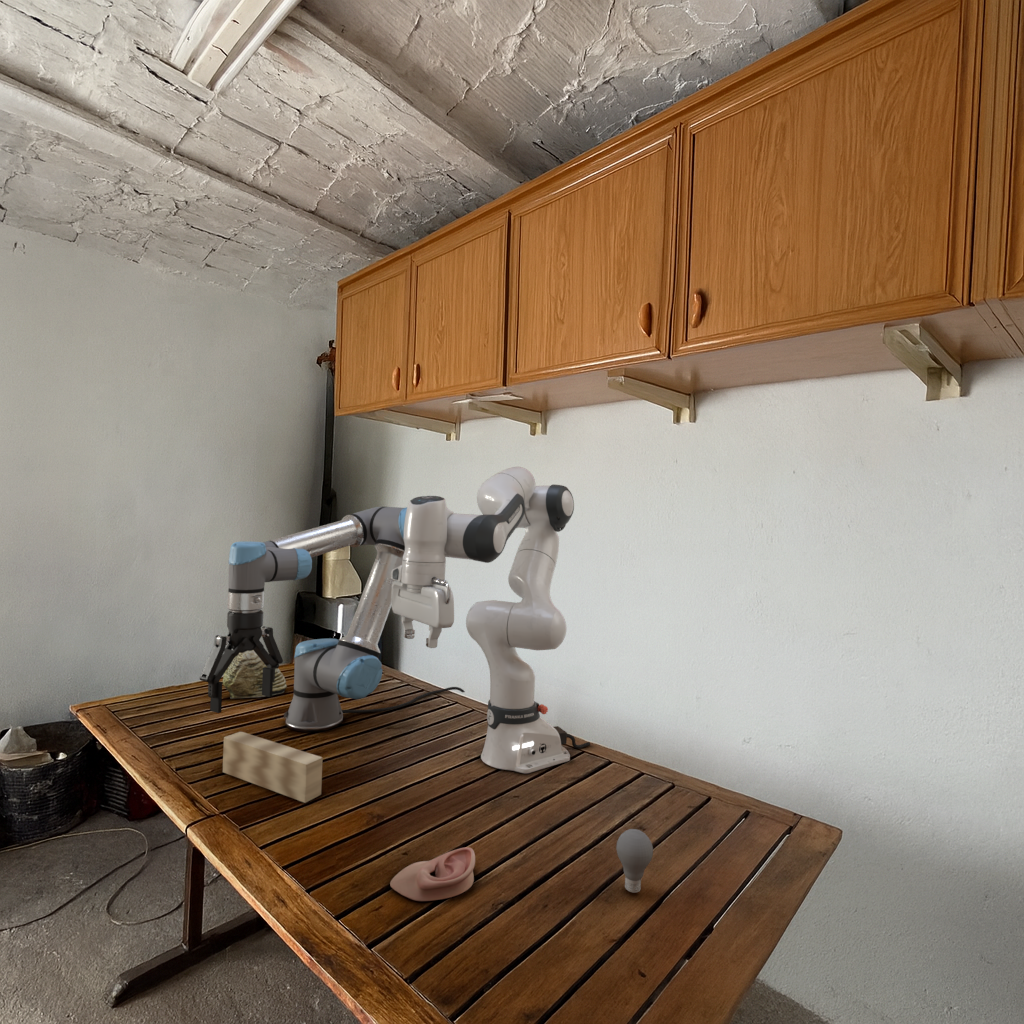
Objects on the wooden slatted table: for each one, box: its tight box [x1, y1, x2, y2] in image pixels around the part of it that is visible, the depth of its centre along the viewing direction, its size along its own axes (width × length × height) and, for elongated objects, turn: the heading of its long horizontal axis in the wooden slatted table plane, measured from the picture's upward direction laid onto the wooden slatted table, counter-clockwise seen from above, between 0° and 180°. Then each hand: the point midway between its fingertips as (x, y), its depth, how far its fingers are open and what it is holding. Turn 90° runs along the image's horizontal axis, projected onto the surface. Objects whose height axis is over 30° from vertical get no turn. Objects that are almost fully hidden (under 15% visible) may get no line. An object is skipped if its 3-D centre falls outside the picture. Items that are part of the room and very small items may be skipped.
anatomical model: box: [389, 846, 476, 902], centre depth 106 cm, size 13×4×12 cm
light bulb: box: [615, 828, 654, 894], centre depth 106 cm, size 6×6×10 cm
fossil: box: [222, 650, 288, 699], centre depth 198 cm, size 9×18×15 cm, turn 132°
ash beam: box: [222, 731, 323, 804], centre depth 139 cm, size 26×4×8 cm, turn 61°
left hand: (242, 703), depth 144 cm, fingers open, 13 cm apart
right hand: (419, 642), depth 129 cm, fingers open, 8 cm apart
